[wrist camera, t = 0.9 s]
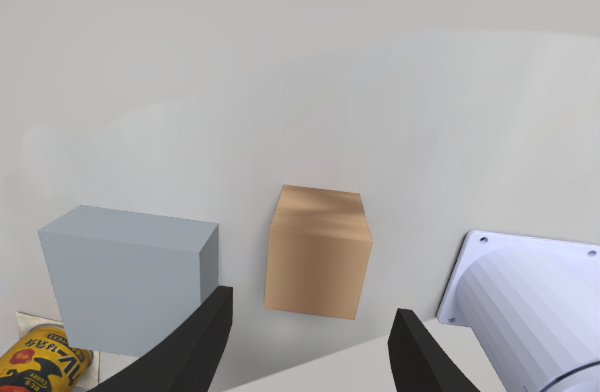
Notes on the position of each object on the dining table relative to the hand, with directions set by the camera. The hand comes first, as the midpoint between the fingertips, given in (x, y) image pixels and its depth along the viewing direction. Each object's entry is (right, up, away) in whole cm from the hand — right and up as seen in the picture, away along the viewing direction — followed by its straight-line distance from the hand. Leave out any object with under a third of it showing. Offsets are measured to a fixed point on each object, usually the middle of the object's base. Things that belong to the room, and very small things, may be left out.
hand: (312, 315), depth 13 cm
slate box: (-12, -1, +11) cm, 16 cm away
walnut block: (+1, +3, +8) cm, 9 cm away
